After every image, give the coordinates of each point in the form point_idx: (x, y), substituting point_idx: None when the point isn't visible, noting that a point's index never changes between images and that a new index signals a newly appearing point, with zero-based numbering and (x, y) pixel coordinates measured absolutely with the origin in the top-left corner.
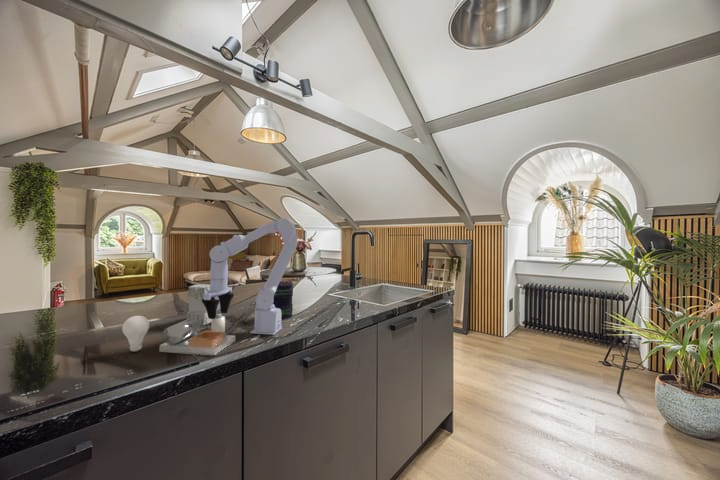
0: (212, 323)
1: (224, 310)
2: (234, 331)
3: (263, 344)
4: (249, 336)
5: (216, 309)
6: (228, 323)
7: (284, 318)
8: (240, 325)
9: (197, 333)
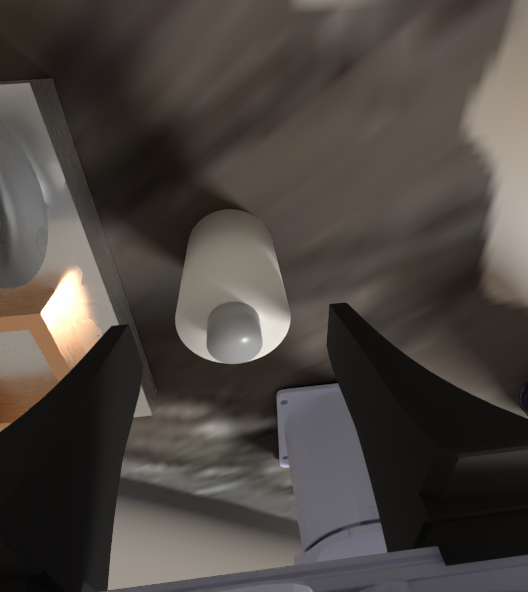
0: (182, 281)
1: (335, 350)
2: (299, 307)
3: (172, 473)
4: (241, 402)
5: (118, 457)
6: (480, 166)
7: (525, 411)
8: (422, 275)
9: (68, 204)
